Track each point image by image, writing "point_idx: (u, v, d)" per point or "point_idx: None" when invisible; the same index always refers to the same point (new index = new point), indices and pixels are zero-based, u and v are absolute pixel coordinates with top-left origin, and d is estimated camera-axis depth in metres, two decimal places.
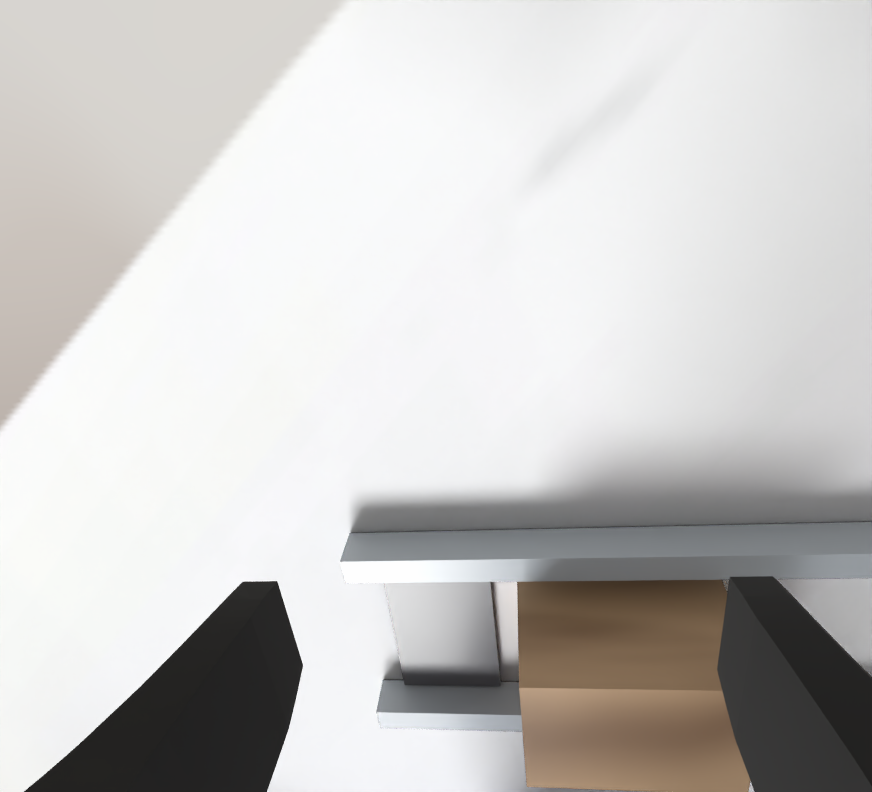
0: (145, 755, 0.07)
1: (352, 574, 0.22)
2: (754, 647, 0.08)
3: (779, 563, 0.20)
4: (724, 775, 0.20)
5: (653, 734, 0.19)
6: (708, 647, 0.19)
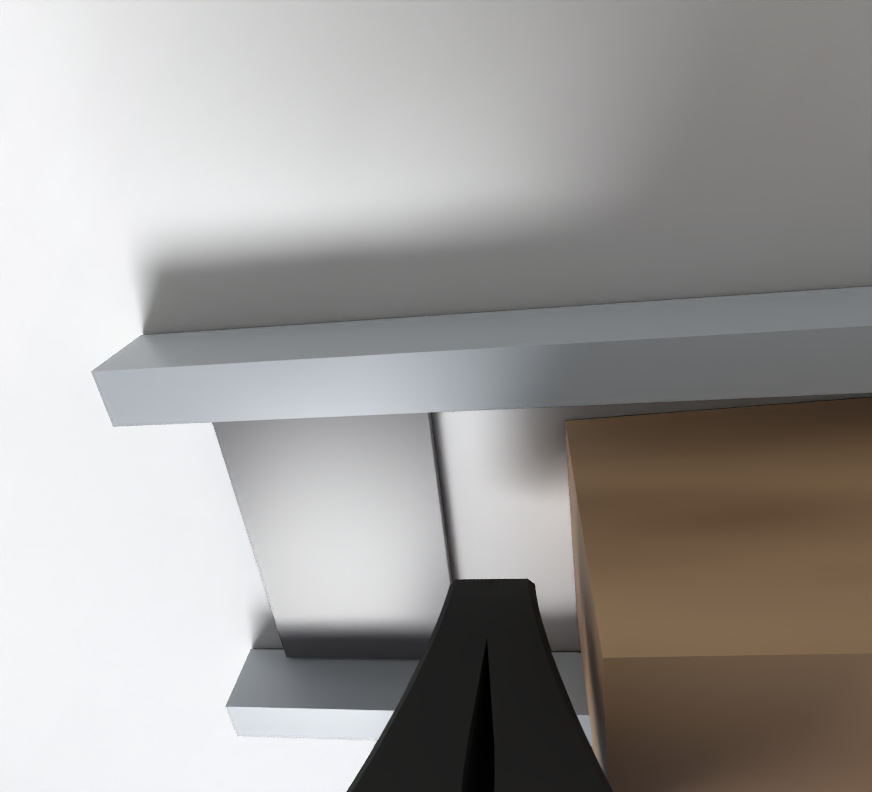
0: (455, 765, 0.07)
1: (124, 403, 0.10)
2: None
3: None
4: None
5: None
6: None
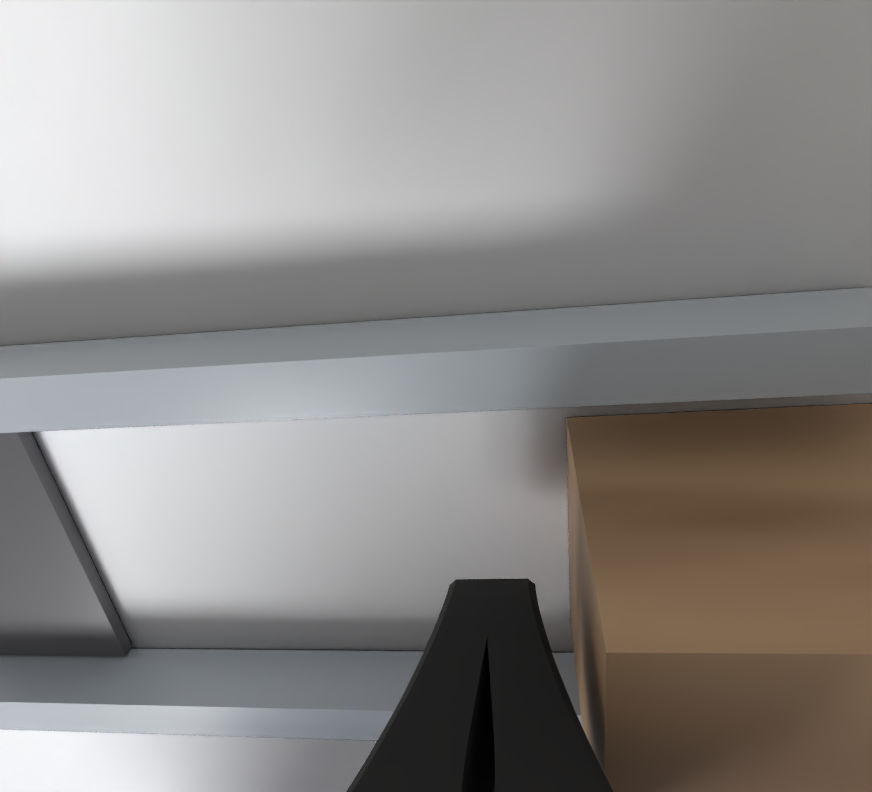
0: (455, 766, 0.07)
1: None
2: None
3: (493, 370, 0.09)
4: None
5: None
6: None
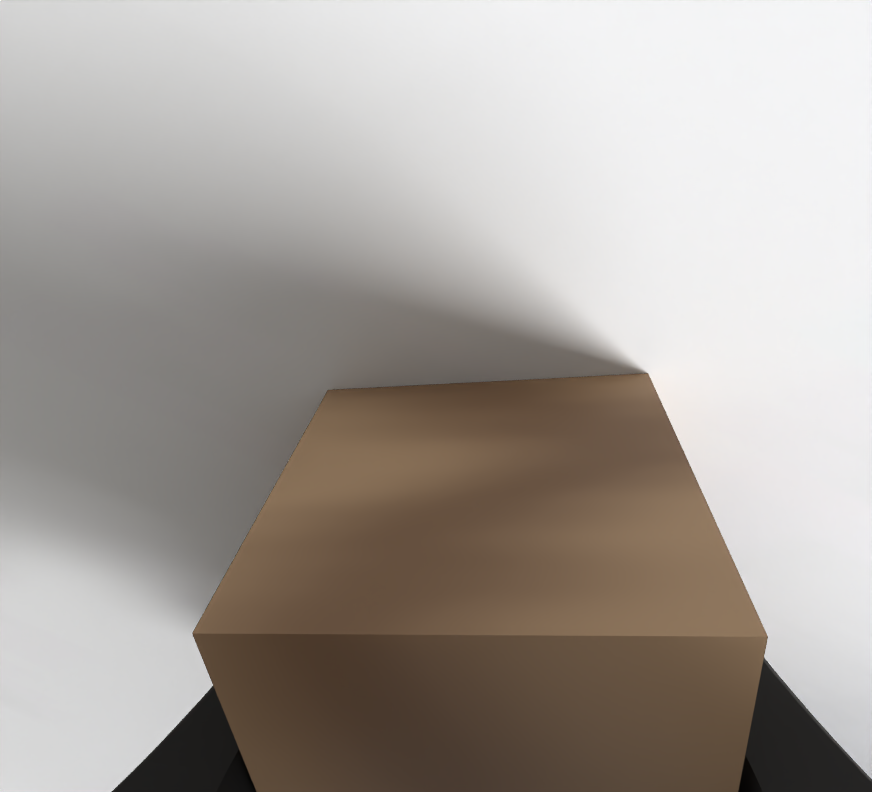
0: (227, 758, 0.07)
1: None
2: None
3: None
4: (636, 698, 0.06)
5: None
6: None
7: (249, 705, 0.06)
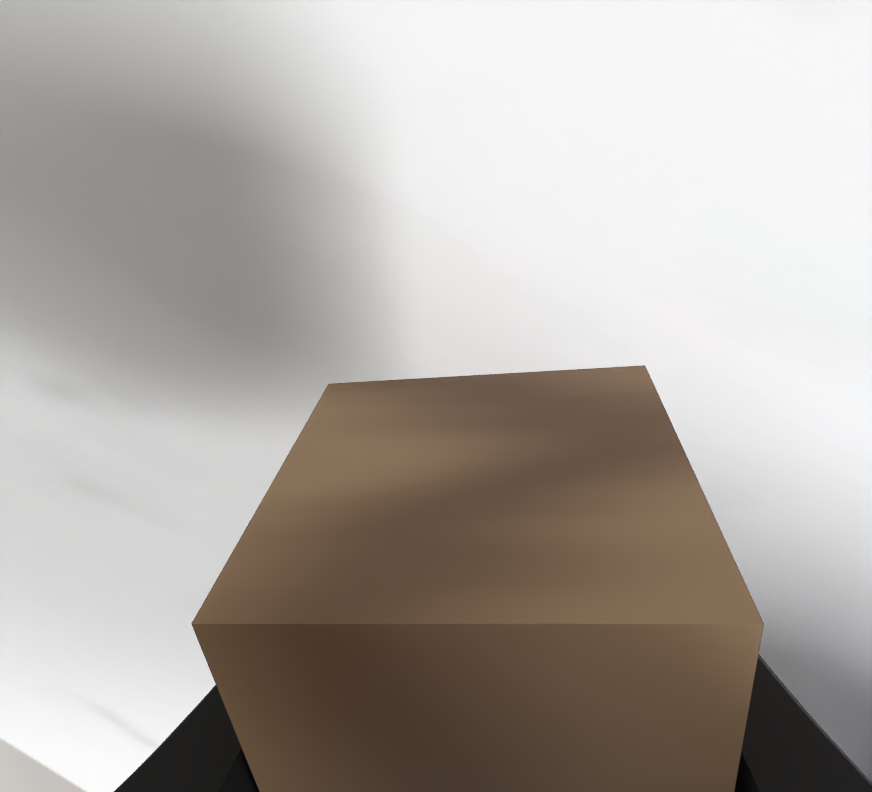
0: (229, 758, 0.07)
1: None
2: None
3: None
4: (634, 687, 0.06)
5: None
6: None
7: (249, 696, 0.06)
